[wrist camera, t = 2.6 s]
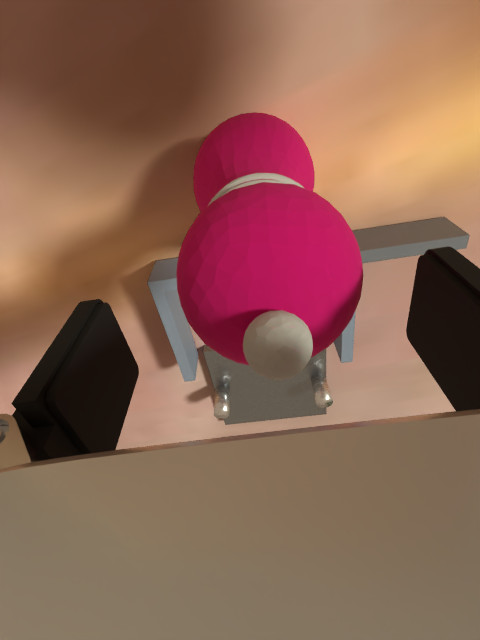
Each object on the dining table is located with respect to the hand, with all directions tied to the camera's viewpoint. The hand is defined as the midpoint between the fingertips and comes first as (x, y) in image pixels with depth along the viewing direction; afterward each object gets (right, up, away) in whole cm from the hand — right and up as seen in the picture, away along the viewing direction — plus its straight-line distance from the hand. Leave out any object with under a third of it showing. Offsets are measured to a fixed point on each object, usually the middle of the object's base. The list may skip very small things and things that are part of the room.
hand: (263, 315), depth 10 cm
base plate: (+3, -7, +27) cm, 28 cm away
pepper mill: (0, +11, +14) cm, 17 cm away
